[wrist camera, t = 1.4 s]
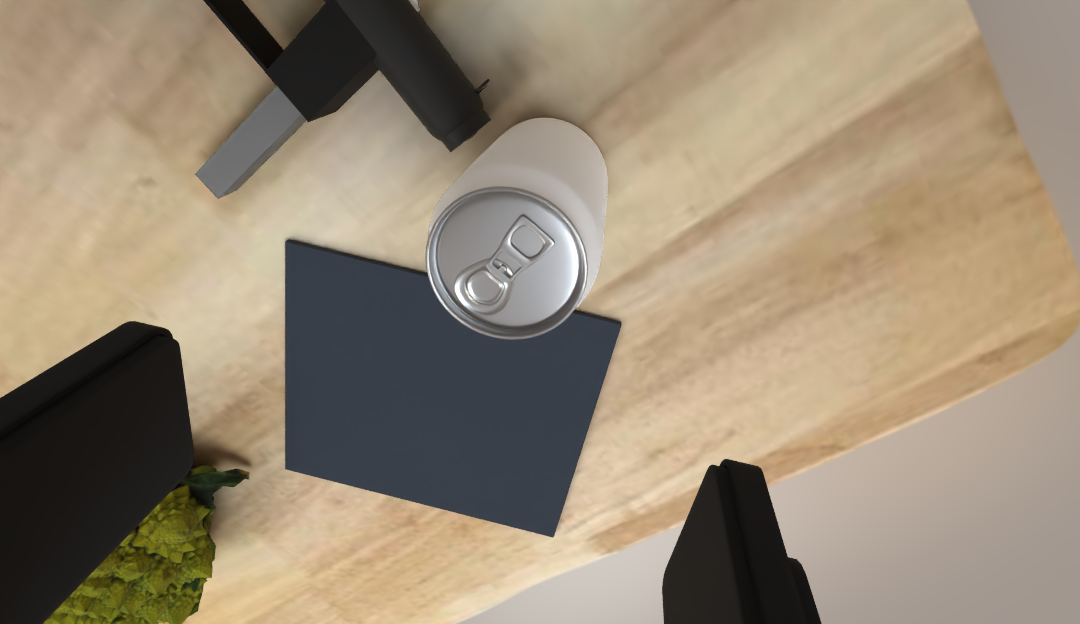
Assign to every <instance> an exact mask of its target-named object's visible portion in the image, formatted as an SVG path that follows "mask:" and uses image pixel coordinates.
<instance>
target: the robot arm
mask: <svg viewBox="0 0 1080 624" xmlns="http://www.w3.org/2000/svg"><path fill="white" fill-rule="evenodd" d="M193 462H194V448H193V440H192V433H191V426H190V418H189V411H188V404H187V396H186V389H185V381H184V374H183V367H182V359H181V352H180V346H179V343H178V342H177V341H176V340H175V339H173V336H172V334H171V332H170V331H169V330H167V329H165V328H162V327H157V326H153V325H149V324H145V323H140V322H136V321H129V322H127V323H124V324H122V325H121V326H119V327H117V328H116V329H114V330H112V331H111V332H109V333H107V334H106V335H104V336H103V337H101V338H99V339H98V340H96V341H94V342H93V343H91V344H89V345H88V346H86V347H84V348H83V349H81V350H79V351H78V352H76V353H74V354H73V355H71V356H69V357H68V358H66V359H64V360H63V361H61V362H59V363H58V364H56V365H54V366H53V367H51V368H49V369H48V370H46V371H44V372H43V373H41V374H39V375H38V376H36V377H35V378H33V379H31V380H30V381H28V382H26V383H25V384H23V385H21V386H20V387H18V388H16V389H15V390H13V391H11V392H10V393H8V394H6V395H5V396H3V397H1V398H0V624H43V623H44V622H45V621H46V620H47V619H48V618H49V617H50V616H51V615H52V614H53V613H54V612H55V611H56V609H57V608H58V607H59V606H60V605H61V604H62V603H63V602H64V601H65V600H66V599H67V598H68V597H69V596H70V595H71V594H72V593H73V592H74V591H75V590H76V589H77V588H78V587H79V586H80V585H81V584H82V583H83V582H84V581H85V580H86V579H87V578H88V577H89V575H90V574H91V573H92V572H93V571H94V570H95V569H96V568H97V567H98V566H99V565H100V564H101V563H102V562H103V561H104V560H105V559H106V558H107V557H108V556H109V555H110V554H111V553H112V552H113V551H114V550H115V549H116V548H117V547H118V546H119V545H120V544H121V542H122V541H123V540H124V539H125V538H126V537H127V536H128V535H129V534H130V533H131V532H132V531H133V530H134V529H135V528H136V527H137V526H138V525H139V524H140V523H141V522H142V521H143V520H144V519H145V518H146V517H147V516H148V515H149V514H150V513H151V512H152V511H153V510H154V508H155V507H156V506H157V505H158V504H159V503H160V502H161V501H162V500H163V499H164V498H165V497H166V496H167V495H168V494H169V493H170V492H171V491H172V490H173V489H174V488H175V487H176V486H177V485H178V484H179V483H180V482H181V481H182V480H183V479H184V478H185V476H186V475H187V474H188V473H189V471H190V469H191V467H192V465H193ZM662 595H663V612H664V624H821V621H820V617H819V614H818V611H817V608H816V605H815V602H814V598H813V595H812V592H811V589H810V586H809V583H808V580H807V576H806V574H805V571H804V569H803V567H802V565H801V564H800V563H799V561H797V559H793V558H789V557H787V553H786V550H785V546H784V543H783V539H782V536H781V533H780V529H779V526H778V522H777V519H776V516H775V512H774V509H773V506H772V502H771V499H770V495H769V492H768V488H767V485H766V481H765V478H764V475H763V472H762V470H761V468H760V467H758V466H754V465H750V464H746V463H741V462H737V461H733V460H729V459H724V460H723V461H722V462H721V464H720V466H716V465H710V466H709V468H708V470H707V472H706V474H705V477H704V479H703V481H702V484H701V486H700V488H699V491H698V493H697V496H696V498H695V500H694V503H693V505H692V507H691V510H690V512H689V515H688V517H687V519H686V522H685V524H684V527H683V529H682V531H681V534H680V536H679V538H678V541H677V543H676V546H675V548H674V550H673V553H672V555H671V557H670V560H669V562H668V565H667V567H666V570H665V573H664V578H663V586H662Z"/></svg>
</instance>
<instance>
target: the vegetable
mask: <svg viewBox="0 0 1080 624" xmlns="http://www.w3.org/2000/svg"><path fill="white" fill-rule="evenodd" d="M244 479H249V472H246V471H243V470H240V469H234V470H229V471H225V472H219V471H217V470H216V469H215V468H214V467H210V466H207V465H203V466H200V467H197V468H194V469H191V470H190V471H189V473H188V474H187V475H186V476H185V478H184V479H183V480H182V481H181V482H180V483H179V484H178V485H177V486H176V487H175V488H174V489H173V490H172V491H171V492H170V493H169V494H168V495H167V496H166V497H165V498H164V499H163V500H162V501H161V502H160V503H159V504H158V505H157V506H156V507H155V508H154V510H153V511H152V512H151V513H150V514H149V515H148V516H147V517H146V518H145V519H144V520H143V521H142V522H141V523H140V524H139V525H138V526H137V527H136V528H135V529H134V530H133V531H132V532H131V533H130V534H129V535H128V536H127V537H126V538H125V539H124V540H123V541H122V542H121V544H120V545H119V546H118V547H117V548H116V549H115V550H114V551H113V552H112V553H111V554H110V555H109V556H108V557H107V558H106V559H105V560H104V561H103V562H102V563H101V564H100V565H99V566H98V567H97V568H96V569H95V570H94V571H93V572H92V573H91V574H90V575H89V577H88V578H87V579H86V580H85V581H84V582H83V583H82V584H81V585H80V586H79V587H78V588H77V589H76V590H75V591H74V592H73V593H72V594H71V595H70V596H69V597H68V598H67V599H66V600H65V601H64V602H63V603H62V604H61V605H60V606H59V607H58V608H57V609H56V611H55V612H54V613H53V614H52V615H51V616H50V617H49V618H48V619H47V620H46V621H45V622H44V623H43V624H158V623H159V622H160V623H165V622H168V623H170V624H182V623H183V622H184V621H185V620H186V618H187V617H189V616H190V615H192V614H194V613H195V612H197V611H198V607H199V603H200V599H201V596H202V592H203V585H204V583H205V582H206V581H207V580H206V579H207V578H212V561H214V559H215V549H216V545H215V544H214V542H213V541H212V539H211V538H210V535H209V531H208V528H209V526H210V524H211V523H210V515H211V514H213V513H214V511H215V510H214V509H215V508H216V507H215V506H214V504H213V501H214V497H213V496H212V495H213V493H214V492H215V491H217V490H218V489H220V488H221V487H222V486H228V487H234V486H236V485H237V484H239V483H240V482H241V481H242V480H244Z"/></svg>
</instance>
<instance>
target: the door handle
mask: <svg viewBox="0 0 1080 624" xmlns="http://www.w3.org/2000/svg"><path fill="white" fill-rule="evenodd" d="M324 1H325V2H326V4H325V5H324V6H323V7H322V8H321V10H320V11H319V12H318V13H317V14H316V15H315V16H314V17H313V19H312V20H311V21H310V22H309V23H308V24H307V25H306V26H305V28H304V29H303V30H302V31H301V32H300V33H299V34H298V35H297V36H296V38H295V39H294V40H293V41H292V42H291V43H290V44H289V45H288V47H287V48H286V49H285V50H283V49H282V47H281V46H280V45H279V44H278V43H277V42H276V40H275V39H274V38H273V37H272V36H271V34H270V33H269V32H268V31H267V30H266V28H265V27H264V26H263V25H262V24H261V23H260V21H259V20H258V19H257V18H256V17H255V15H254V14H253V13H252V12H251V11H250V9H249V8H248V7H247V6H246V5H245V4H244V2H243V1H242V0H204V2H205V3H206V4H207V5H208V6H209V7H210V8H211V10H212V11H213V12H214V13H215V14H216V15H217V17H218V18H219V19H220V20H221V21H222V22H223V24H224V25H225V26H226V27H227V28H228V29H229V31H230V32H231V33H232V34H233V35H234V36H235V37H236V39H237V40H238V41H239V42H240V43H241V44H242V46H243V47H244V48H245V49H246V50H247V51H248V53H249V54H250V55H251V56H252V57H253V58H254V59H255V61H256V62H257V63H258V64H259V65H260V66H261V68H262V69H263V70H264V71H265V73H266V74H267V75H268V76H269V77H270V78H271V80H272V81H273V82H274V83H275V84H276V85H277V86H276V87H275V88H274V89H273V90H272V91H271V92H270V93H269V94H268V95H267V96H266V98H265V99H264V100H263V101H262V102H261V103H260V104H259V105H258V106H257V107H256V108H255V109H254V111H253V112H252V113H251V114H250V115H249V116H248V117H247V118H246V119H245V120H244V121H243V123H242V124H241V125H240V126H239V127H238V128H237V129H236V130H235V131H234V132H233V133H232V134H231V136H230V137H229V138H228V139H227V140H226V141H225V142H224V143H223V144H222V145H221V146H220V147H219V149H218V150H217V151H216V152H215V153H214V154H213V155H212V156H211V157H210V158H209V159H208V160H207V162H206V163H205V164H204V165H203V166H202V167H201V168H200V169H199V170H198V171H197V172H196V174H195V175H196V176H197V177H198V178H199V179H200V180H201V181H202V182H203V184H204V185H205V186H206V187H207V188H208V189H209V190H210V191H211V192H212V193H213V194H214V195H215V196H216V197H217V198H218V199H219V198H221V197H223V196H225V195H227V194H229V193H232V192H234V191H236V190H237V189H238V188H239V187H240V186H241V185H242V184H243V183H244V182H245V181H246V180H247V179H248V178H249V177H250V176H251V175H252V174H253V173H254V172H255V171H256V170H257V169H258V168H259V167H260V166H261V165H262V164H263V163H264V162H265V161H266V160H267V159H268V158H269V157H270V156H271V155H272V154H273V153H274V152H275V151H276V150H277V149H278V148H279V147H280V146H281V145H282V144H283V143H284V142H285V141H286V140H287V139H288V138H289V137H290V136H291V135H292V134H293V133H294V132H295V131H296V130H297V129H298V128H299V127H300V126H301V125H302V124H303V123H304V122H305V121H306V120H307V121H308V122H310V121H312V120H315V119H318V118H320V117H323V116H326V115H328V114H331V113H333V112H336V111H337V110H338V109H339V108H340V107H341V106H342V105H343V104H344V103H345V102H346V101H347V100H348V99H349V98H350V97H351V96H352V95H353V94H354V93H355V92H356V91H357V90H359V89H360V88H361V87H362V86H363V85H364V84H365V83H366V82H367V81H368V80H369V79H370V78H371V77H372V76H373V75H374V74H375V73H376V72H377V71H378V70H380V71H381V72H382V73H383V75H384V76H385V77H386V78H387V80H388V81H389V82H390V83H391V85H392V86H393V87H394V88H395V90H396V91H397V92H398V94H399V95H400V96H401V97H402V99H403V100H404V101H405V102H406V104H407V105H408V106H409V107H410V109H411V110H412V111H413V112H414V114H415V115H416V116H417V117H418V119H419V120H420V121H421V122H422V124H423V125H424V126H425V127H426V129H427V130H428V131H429V132H430V133H431V134H432V135H433V136H434V137H435V138H437V139H438V140H440V141H442V142H443V143H444V144H445V146H446V147H447V148H448V150H449V151H450V152H452V151H453V150H455V149H456V148H457V147H458V146H460V145H461V144H462V143H463V142H465V141H467V140H468V139H470V138H471V137H473V136H474V135H475V134H476V133H477V131H478V130H479V129H480V128H482V127H483V126H484V125H485V124H486V123H488V122H489V121H490V120H491V118H490V117H489V116H488V114H487V113H486V112H485V110H484V109H483V103H482V100H481V97H480V94H479V93H480V92H481V91H482V90H483V89H484V88H485V87H486V86H485V85H486V84H487V83H488V82H489V81H490V80H489V79H487V80H486V81H485V82H484V83H483V84H482V85H481V86H479V87H478V88H477V89H475V88H474V87H473V85H472V84H471V83H470V81H469V80H468V79H467V77H466V76H465V75H464V73H463V72H462V71H461V69H460V68H459V67H458V65H457V64H456V63H455V61H454V60H453V59H452V57H451V56H450V55H449V53H448V52H447V51H446V49H445V48H444V47H443V45H442V44H441V43H440V41H439V40H438V39H437V37H436V36H435V35H434V33H433V32H432V31H431V29H430V28H429V27H428V25H427V24H426V23H425V21H424V20H423V19H422V17H421V16H420V15H419V13H418V12H419V11H420V10H421V9H420V8H419V6H418V0H324ZM484 86H485V87H484ZM482 87H484V88H483V89H482V90H480V89H481V88H482ZM479 90H480V91H479ZM478 91H479V92H478Z"/></svg>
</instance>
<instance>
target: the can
mask: <svg viewBox="0 0 1080 624" xmlns="http://www.w3.org/2000/svg"><path fill="white" fill-rule="evenodd" d="M607 193H608V175H607V169H606V165H605V161H604V159H603V156H602V154H601V152H600V150H599V148H598V147H597V145H596V144H595V143H594V141H593V140H592V139H591V138H590V137H589V136H588V135H587V134H586V133H585V132H584V131H582V130H581V129H580V128H578V127H576V126H575V125H573V124H571V123H568V122H566V121H563V120H559V119H554V118H535V119H530V120H526V121H524V122H521V123H519V124H517V125H515V126H513V127H511V128H510V129H508V130H507V131H506V132H505V133H503V134H502V135H501V136H500V137H499V138H498V139H497V140H496V141H495V142H494V143H493V144H491V145H490V146H489V147H488V148H487V149H486V150H485V151H484V152H483V153H482V154H481V155H480V156H479V157H478V158H477V159H476V160H475V161H474V162H473V163H472V164H471V165H470V166H469V167H468V168H467V169H466V170H465V171H464V172H463V173H462V174H461V175H460V176H459V177H458V178H457V179H456V180H455V181H454V182H453V183H452V184H451V186H450V187H449V188H448V189H447V190H446V192H445V193H444V194H443V196H442V197H441V199H440V200H439V202H438V204H437V206H436V208H435V210H434V212H433V215H432V218H431V221H430V225H429V231H428V241H427V246H426V268H427V273H428V277H429V281H430V283H431V286H432V288H433V290H434V292H435V294H436V296H437V298H438V299H439V301H440V302H441V304H442V305H443V306H444V307H445V309H446V310H447V311H448V312H449V313H450V314H451V315H452V316H453V317H454V318H456V319H457V320H458V321H459V322H461V323H462V324H464V325H465V326H467V327H469V328H470V329H472V330H474V331H476V332H479V333H481V334H484V335H487V336H490V337H494V338H500V339H511V340H515V339H526V338H531V337H535V336H539V335H541V334H544V333H546V332H548V331H550V330H552V329H554V328H556V327H557V326H559V325H560V324H561V323H562V322H564V321H565V320H566V319H567V318H568V317H569V316H570V315H571V314H572V312H573V311H574V310H575V309H576V308H577V307H578V306H579V305H580V304H581V303H582V301H583V300H584V299H585V298H586V296H587V295H588V293H589V292H590V290H591V288H592V287H593V285H594V282H595V280H596V277H597V275H598V271H599V268H600V263H601V257H602V249H603V240H604V229H605V218H606V206H607Z"/></svg>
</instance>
